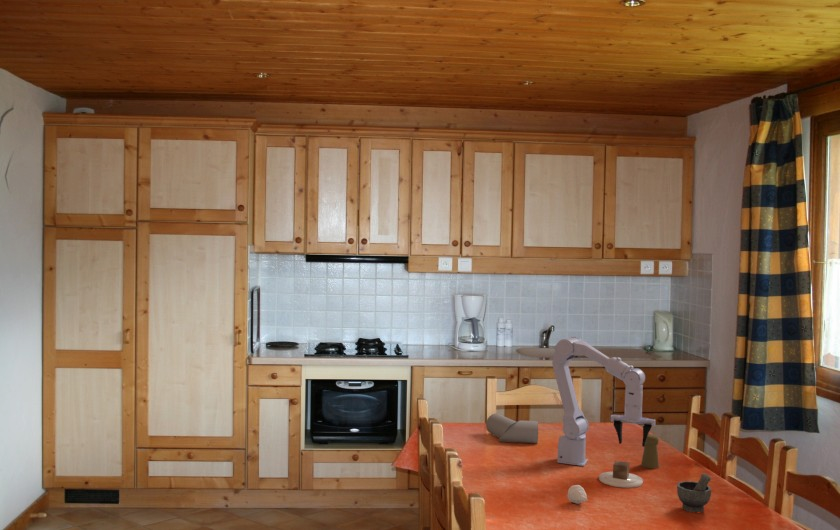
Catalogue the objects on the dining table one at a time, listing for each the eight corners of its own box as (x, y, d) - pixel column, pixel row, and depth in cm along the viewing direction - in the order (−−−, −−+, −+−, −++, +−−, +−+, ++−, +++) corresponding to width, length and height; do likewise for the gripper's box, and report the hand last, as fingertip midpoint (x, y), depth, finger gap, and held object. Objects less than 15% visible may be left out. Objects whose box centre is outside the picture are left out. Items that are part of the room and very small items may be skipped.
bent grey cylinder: (485, 441, 296) (538, 444, 294) (486, 413, 298) (538, 415, 296) (485, 439, 313) (535, 442, 312) (486, 413, 315) (536, 415, 313)
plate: (595, 483, 252) (595, 480, 252) (602, 471, 265) (602, 468, 265) (639, 490, 247) (640, 486, 247) (645, 477, 260) (645, 474, 260)
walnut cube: (612, 477, 255) (613, 464, 255) (615, 474, 259) (615, 460, 259) (626, 479, 253) (627, 466, 253) (628, 476, 257) (629, 462, 257)
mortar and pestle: (669, 505, 234) (670, 465, 233) (695, 502, 237) (696, 463, 236) (693, 518, 223) (695, 477, 223) (720, 515, 226) (722, 474, 226)
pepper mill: (659, 469, 270) (661, 437, 269) (641, 467, 271) (643, 436, 271) (658, 464, 276) (659, 433, 275) (640, 462, 277) (641, 432, 277)
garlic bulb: (577, 509, 228) (577, 490, 228) (565, 502, 234) (566, 484, 234) (592, 506, 231) (593, 488, 230) (580, 500, 236) (581, 482, 236)
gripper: (609, 404, 262) (608, 444, 263) (654, 409, 257) (652, 450, 257) (613, 400, 269) (611, 439, 270) (656, 405, 263) (655, 445, 264)
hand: (632, 444), depth 264 cm, fingers open, 7 cm apart
